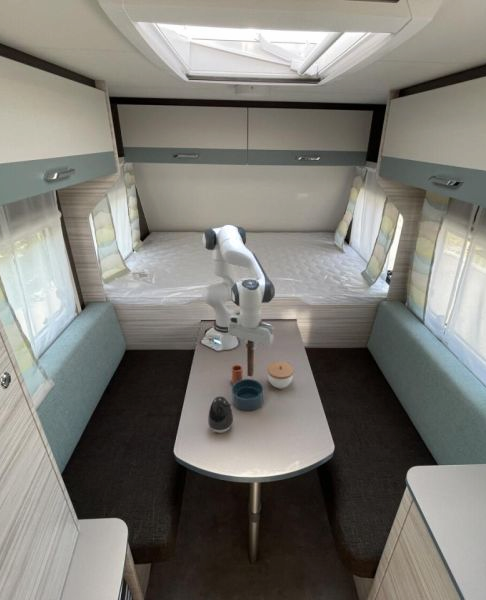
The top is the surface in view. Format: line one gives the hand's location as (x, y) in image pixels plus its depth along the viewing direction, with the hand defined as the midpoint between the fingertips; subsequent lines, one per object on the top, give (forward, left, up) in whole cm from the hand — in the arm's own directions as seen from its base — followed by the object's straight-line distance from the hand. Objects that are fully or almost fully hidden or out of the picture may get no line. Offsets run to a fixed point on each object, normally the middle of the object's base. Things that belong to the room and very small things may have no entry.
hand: (250, 348), depth 138 cm
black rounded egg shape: (-3, -20, -28) cm, 35 cm away
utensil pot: (-12, +8, -28) cm, 31 cm away
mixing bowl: (-1, -1, -28) cm, 28 cm away
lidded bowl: (+7, +17, -28) cm, 34 cm away
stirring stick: (0, 0, -14) cm, 14 cm away
